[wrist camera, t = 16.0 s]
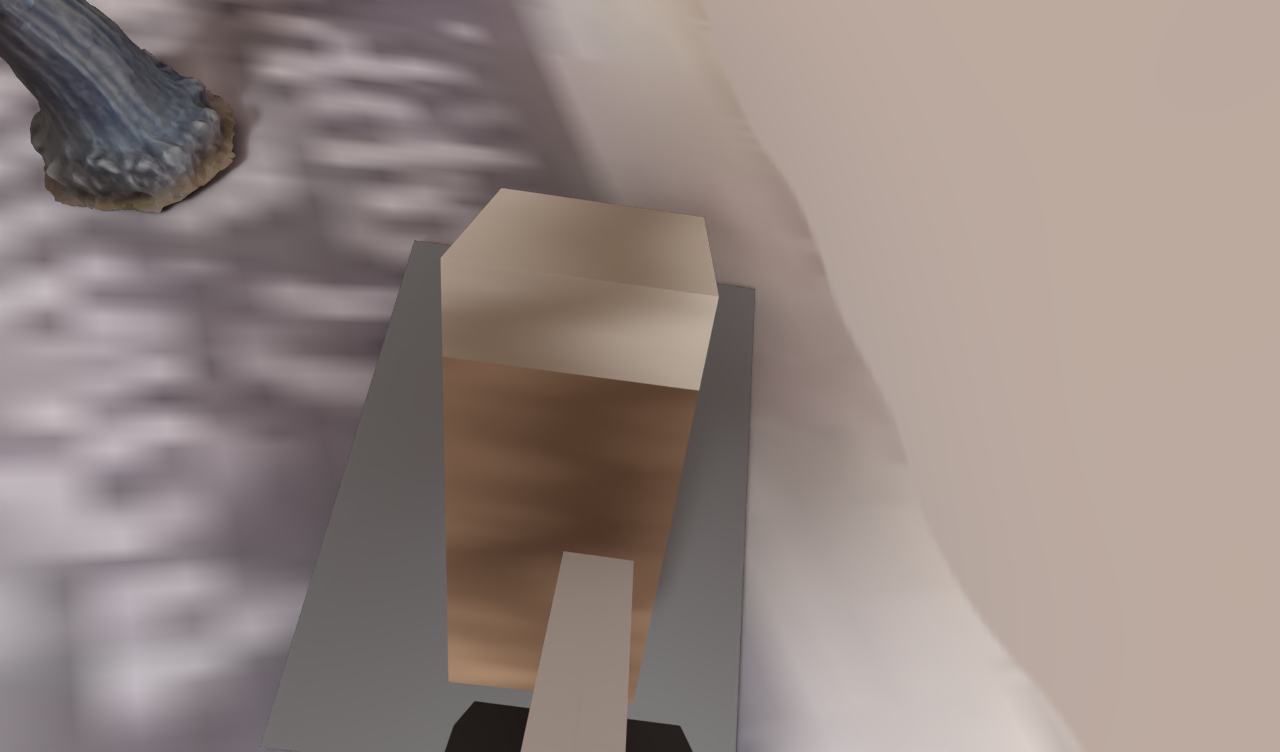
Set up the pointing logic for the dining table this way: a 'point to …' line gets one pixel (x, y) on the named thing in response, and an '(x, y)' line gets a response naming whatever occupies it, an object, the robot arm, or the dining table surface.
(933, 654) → the dining table surface
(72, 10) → the antler
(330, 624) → the charcoal rubber mat
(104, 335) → the dining table surface
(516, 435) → the walnut block
